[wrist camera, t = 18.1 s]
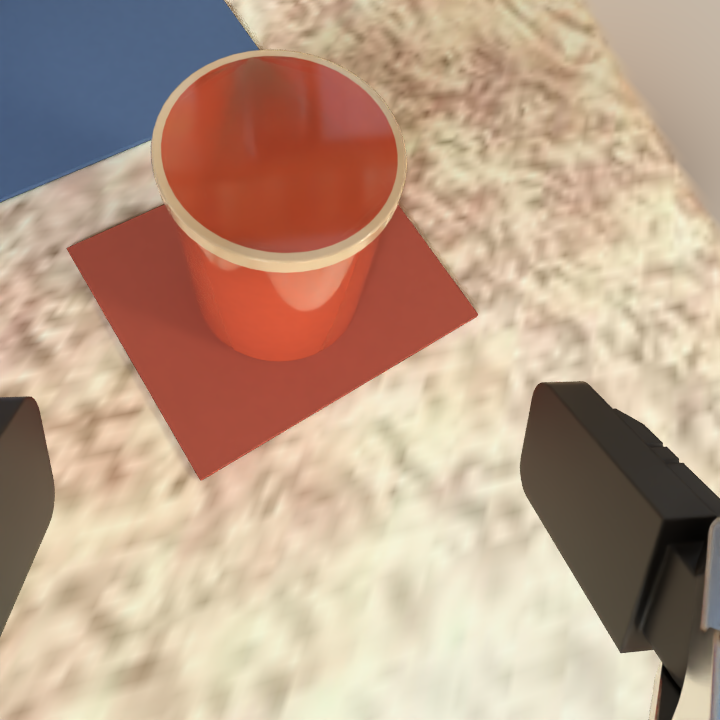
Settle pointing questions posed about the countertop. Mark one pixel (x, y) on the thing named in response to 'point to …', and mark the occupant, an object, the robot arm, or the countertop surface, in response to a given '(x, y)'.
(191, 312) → the rust mat
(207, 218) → the red tapered cylinder
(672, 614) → the robot arm
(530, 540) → the countertop surface
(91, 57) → the blue mat
